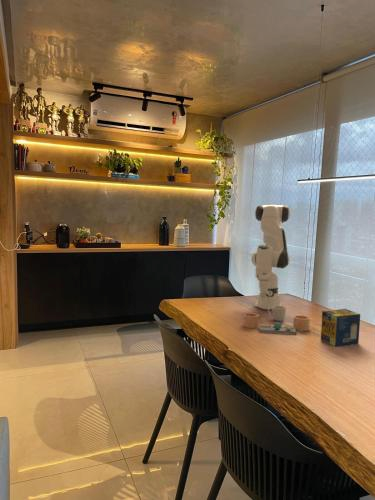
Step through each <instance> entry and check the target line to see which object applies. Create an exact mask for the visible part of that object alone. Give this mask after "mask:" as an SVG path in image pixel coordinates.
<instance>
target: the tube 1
mask: <svg viewBox="0 0 375 500" xmlns="http://www.w3.org/2000/svg"><path fill="white" fill-rule="evenodd" d="M259 323H260V314H258V313H255V312H245V313H243V324H242V325H243V326H242V327H244V328H247V329H257V328H258V329H259V326H260V325H259Z"/></svg>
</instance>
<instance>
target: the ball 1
mask: <svg viewBox="0 0 375 500" xmlns="http://www.w3.org/2000/svg"><path fill="white" fill-rule="evenodd" d="M273 326H274V328H275V329H277V330H278V329H280V328H281V327H282V324H281V322H280V321H276V322H274V324H273Z"/></svg>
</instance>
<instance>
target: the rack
mask: <svg viewBox="0 0 375 500" xmlns="http://www.w3.org/2000/svg"><path fill="white" fill-rule="evenodd" d="M258 329H259V333H263V334H278V335H279V334H282V335H283V334H284V335H297V330H295V328H294V327H293V326H292V329H291V330H287V329H286V328H285V326H281V328H280V329H278V330H277V329H275V328H274V325H259V327H258Z"/></svg>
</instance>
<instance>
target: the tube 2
mask: <svg viewBox="0 0 375 500" xmlns="http://www.w3.org/2000/svg"><path fill="white" fill-rule="evenodd" d="M292 321H293V322H292V323H293V324H292V327H294V328H295V330H296V331H300V332H308V331H310V323H311V322H310V321H311V317H309V316H307V315H302V314H297V315H293V320H292Z"/></svg>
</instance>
